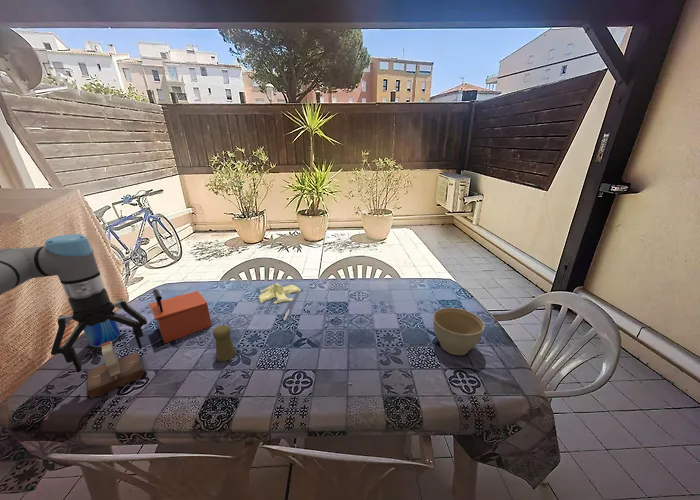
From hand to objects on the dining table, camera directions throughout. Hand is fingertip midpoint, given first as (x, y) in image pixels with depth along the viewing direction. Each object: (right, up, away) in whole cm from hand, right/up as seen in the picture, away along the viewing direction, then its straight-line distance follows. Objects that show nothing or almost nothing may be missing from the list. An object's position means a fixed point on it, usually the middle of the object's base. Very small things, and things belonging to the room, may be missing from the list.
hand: (111, 357), depth 79 cm
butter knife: (+43, +7, +43) cm, 61 cm away
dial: (0, -4, +1) cm, 4 cm away
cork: (+28, -4, +11) cm, 31 cm away
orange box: (+6, +1, +26) cm, 27 cm away
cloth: (+34, +10, +51) cm, 62 cm away
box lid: (+5, +11, +22) cm, 25 cm away
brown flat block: (0, -7, +2) cm, 8 cm away
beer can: (-18, -2, +18) cm, 25 cm away
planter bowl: (+106, -3, +16) cm, 108 cm away
